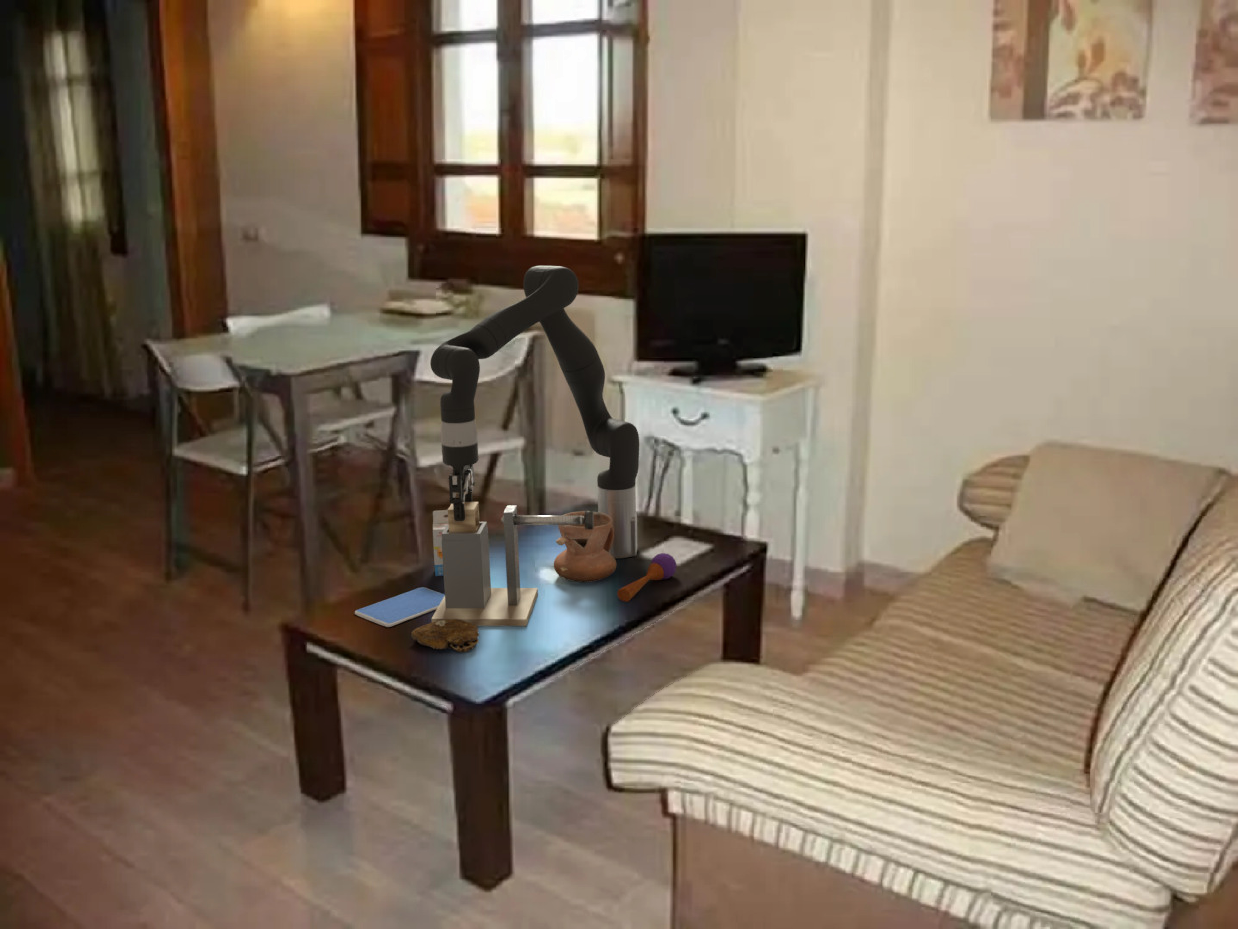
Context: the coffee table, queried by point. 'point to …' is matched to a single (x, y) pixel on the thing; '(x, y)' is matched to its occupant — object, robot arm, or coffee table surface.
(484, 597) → the pedestal
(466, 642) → the decorative rock
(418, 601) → the tablet computer
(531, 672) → the coffee table surface
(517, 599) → the shaft bracket
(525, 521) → the steel shaft
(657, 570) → the purple maraca
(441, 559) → the ink box
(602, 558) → the ceramic jug
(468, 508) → the collar
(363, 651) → the coffee table surface
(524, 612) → the birch board
